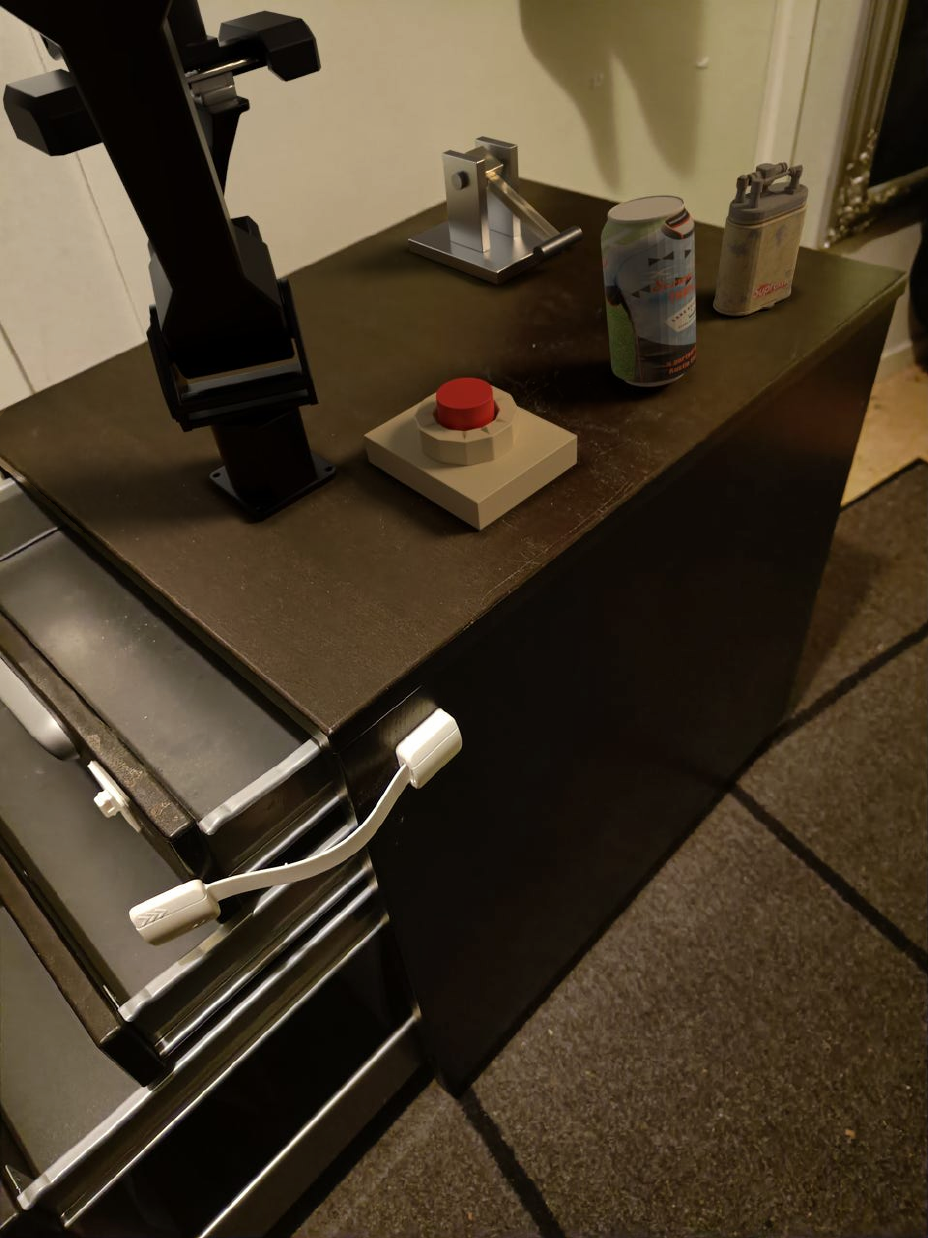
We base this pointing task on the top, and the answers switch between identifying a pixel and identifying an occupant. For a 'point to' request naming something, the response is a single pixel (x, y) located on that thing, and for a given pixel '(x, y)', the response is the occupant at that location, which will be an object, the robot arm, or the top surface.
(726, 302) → the lighter
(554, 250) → the lever
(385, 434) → the button box
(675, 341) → the beverage can
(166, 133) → the robot arm
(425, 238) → the bracket
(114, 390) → the top surface
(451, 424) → the button
